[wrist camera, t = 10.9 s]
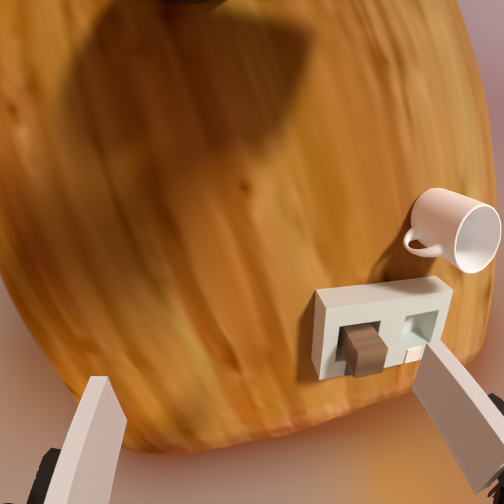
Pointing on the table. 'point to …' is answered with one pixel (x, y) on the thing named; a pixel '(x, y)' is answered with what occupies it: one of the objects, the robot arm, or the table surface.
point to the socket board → (380, 319)
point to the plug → (362, 349)
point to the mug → (454, 229)
